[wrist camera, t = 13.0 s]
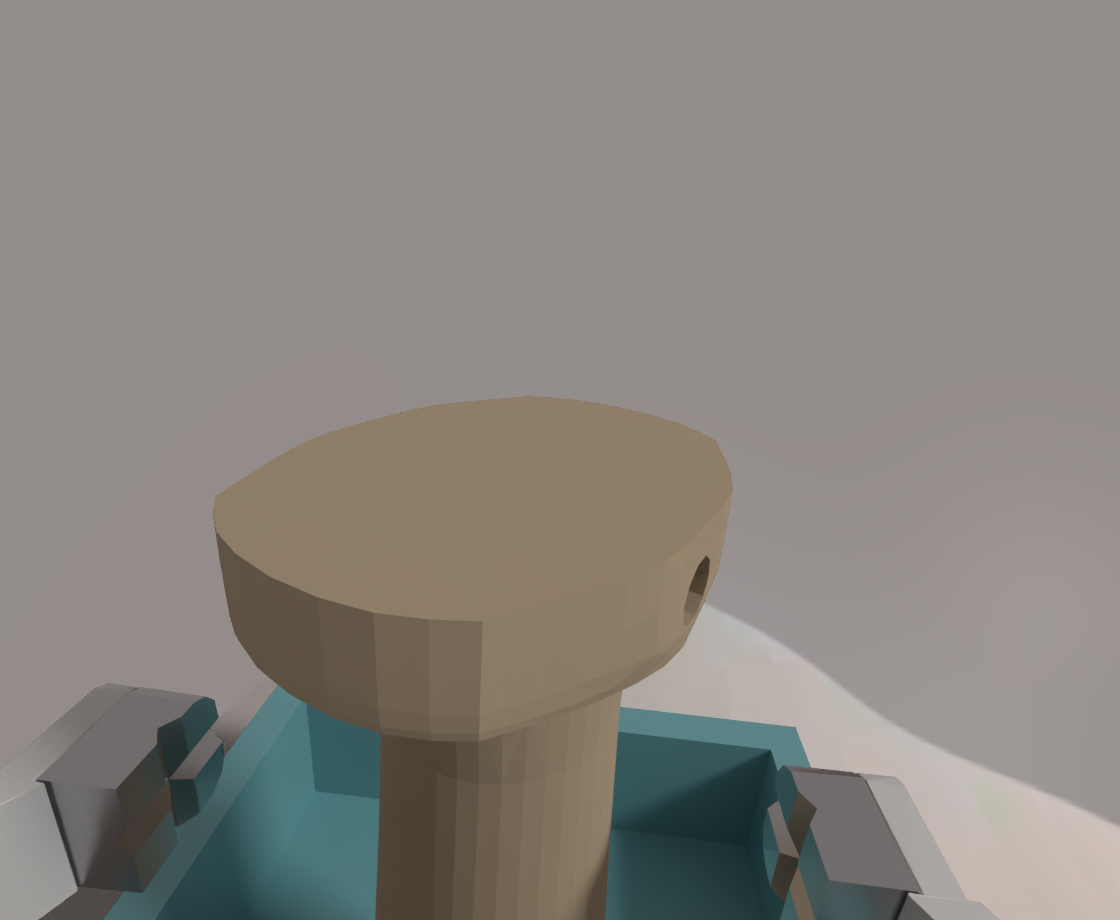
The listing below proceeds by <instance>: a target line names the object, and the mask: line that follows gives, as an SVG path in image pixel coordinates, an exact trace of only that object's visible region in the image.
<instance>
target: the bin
mask: <svg viewBox="0 0 1120 920" xmlns="http://www.w3.org/2000/svg"><path fill="white" fill-rule="evenodd" d="M380 749H381V734H380V733H377V732H374V731H371V730H368V729H365V728H362V727H359V726H356V725H353V724H350V723H347V722H344V721H341V720H338V719H335V718H332V717H331V716H329V715H327V714H325V713H323V712H321V711H319V710H318V709H316V708H314V707H312V706H310V705H308V704H306V703H305V702H303V701H301V700H299V699H297V698H295V697H293V696H292V695H290V694H288V693H287V692H286V691H285V690H284V689H282V688H281V687H280V686H279V685H277V687H276V688H275V689H274V691H273V692H272V693H271V695H270V696H269V697H268V699H267V700H266V701H265V703H264V704H263V705H262V707H261V708H260V709H259V711H258V712H257V714H256V715H255V716H254V718H253V719H252V720H251V722H250V723H249V724H248V726H247V727H246V728H245V730H244V731H243V732H242V734H241V735H240V736H239V738H238V739H237V740H236V742H235V743H234V744H233V746H232V747H231V748H230V750H229V751H228V752H227V754H226V755H225V756H224V762H223V770H222V774H221V776H220V778H219V781H218V783H217V786H216V788H215V791H214V793H213V795H212V796H211V798H210V799H209V801H208V802H207V804H206V805H205V807H204V808H203V810H202V811H201V812H200V813H199V814H198V815H196V816H194V817H193V818H191V819H190V820H188V821H187V822H185V823H183V824H182V825H180V826H179V837H178V845H177V846H176V848H175V849H174V850H173V852H172V853H171V855H170V856H169V857H168V859H167V860H166V861H165V863H164V864H163V866H162V867H161V868H160V870H159V871H158V873H157V874H156V875H155V877H154V878H153V880H152V881H151V882H150V884H149V885H148V886H147V888H146V889H145V891H144V892H143V893H138V892H128V891H124V892H123V893H122V895H121V896H120V897H119V899H118V900H117V901H116V903H115V904H114V905H113V907H112V908H111V909H110V911H109V912H108V913H107V915H106V916H105V917H104V919H103V920H375V910H376V886H377V862H378V838H379V797H380ZM783 765H790V766H799V767H808V768H811V767H810V764H809V762H808V759H807V756H806V754H805V751H804V748H803V746H802V743H801V741H800V738H799V735H798V733H797V730H796V727H788V726H780V725H771V724H763V723H754V722H745V721H737V720H728V719H719V718H711V717H702V716H694V715H685V714H676V713H668V712H659V711H651V710H642V709H633V708H625V707H620V711H619V724H618V737H617V750H616V764H615V777H614V790H613V803H612V817H611V831H610V848H609V864H608V881H607V897H606V914H605V920H780V918H781V914H782V911H783V908H784V904H785V903H784V902H783V901H782V899H781V898H780V897H779V896H778V895H777V894H776V892H775V891H774V890H773V889H772V888H771V886H770V883H769V879H768V875H767V871H766V866H765V859H764V852H763V826H764V822H765V818H766V813H767V809H768V808H769V807H770V806H772V805H773V804H774V803H776V802H777V801H778V796H777V793H776V790H775V786H774V783H775V780H776V777H777V773H778V771H779V769H780V768H781V767H782V766H783Z"/></svg>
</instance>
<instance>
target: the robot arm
mask: <svg viewBox="0 0 1120 920" xmlns="http://www.w3.org/2000/svg"><path fill="white" fill-rule="evenodd" d="M217 719H218V714H217V709H216V705H215V701H214V700H213V699H210V698H208V697H204V696H197V695H190V694H183V693H176V692H169V691H163V690H156V689H149V688H143V687H141V688H139V687H131V686H125V685H118V684H111V683H108V684H106V685H103V686H100V687H97V688H95V689H94V690H92V691H91V692H90V693H89V694H88V695H87V696H85V697H84V699H82V700H81V701H80V702H78V703H77V704H76V705H75V706H74V707H73V708H72V709H70V710H69V711H68V712H67V713H66V714H65V715H63V716H62V717H61V718H60V719H59V720H58V721H57V722H55V723H54V724H53V725H52V726H51V727H50V728H48V729H47V730H46V731H45V732H44V733H43V734H42V735H40V736H39V737H38V738H37V739H36V740H35V741H33V742H32V743H31V744H30V745H29V746H28V747H26V748H25V749H24V750H23V751H22V752H21V753H20V754H18V755H17V756H16V757H15V758H14V759H13V760H12V761H10V762H9V763H8V764H7V765H6V766H5V767H3V768H2V769H1V770H0V920H38V919H40V918H41V917H43V916H44V915H45V914H47V913H48V912H49V911H51V910H52V909H53V908H55V907H56V906H58V905H59V904H60V903H62V902H63V901H64V900H66V899H67V898H69V897H70V896H71V895H73V894H74V893H75V892H77V890H78V888H77V886H79V887H89V888H99V889H108V890H118V891H128V892H138V893H143V892H144V891H145V889H146V888H147V886H148V885H149V884H150V882H151V881H152V880H153V878H154V877H155V875H156V874H157V873H158V871H159V870H160V868H161V867H162V866H163V864H164V863H165V861H166V860H167V859H168V857H169V856H170V855H171V853H172V852H173V850H174V849H175V848H176V846H177V845H178V837H179V826H180V825H182V824H183V823H185V822H187V821H188V820H190V819H191V818H193V817H194V816H196V815H198V814H199V813H200V812H201V811H202V810H203V808H204V807H205V805H206V804H207V802H208V801H209V799H210V798H211V796H212V795H213V793H214V791H215V788H216V786H217V783H218V781H219V778H220V776H221V774H222V770H223V762H224V749H223V743H222V741H221V740H220V739H219V737H218V736H217V735H216V734H215V733H214V732H213V731H212V730H211V729H210V728H211V727H212V725H213V724H214V723H215V721H216V720H217ZM774 786H775V790H776V793H777V796H778V801H777V802H776V803H774V804H773V805H772V806H770V807H769V808H768V809H767V813H766V818H765V822H764V826H763V852H764V859H765V866H766V871H767V875H768V879H769V883H770V886H771V888H772V889H773V890H774V891H775V892H776V894H777V895H778V896H779V897H780V898H781V899H782V901H783V902H784V903H785V904H784V908H783V911H782V914H781V918H780V920H1000V919H999V918H998V917H996V916H995V915H994V914H993V913H992V912H991V911H990V910H989V909H987V908H986V907H985V906H984V905H983V904H982V903H981V902H975V901H969V900H967V898H966V896H965V895H964V893H963V891H962V889H961V887H960V886H959V884H958V882H957V880H956V878H955V876H954V875H953V873H952V871H951V869H950V867H949V866H948V864H947V862H946V860H945V858H944V857H943V855H942V853H941V851H940V849H939V848H938V846H937V844H936V842H935V840H934V839H933V837H932V835H931V833H930V831H929V829H928V828H927V826H926V824H925V822H924V820H923V819H922V817H921V815H920V813H919V811H918V810H917V808H916V806H915V804H914V802H913V801H912V799H911V797H910V795H909V793H908V791H907V790H906V788H905V786H904V784H903V783H902V782H901V781H899V780H898V779H897V778H896V777H890V776H881V775H872V774H863V773H857V774H855V773H853V772H846V771H836V770H827V769H818V768H808V767H799V766H790V765H783V766H782V767H781V768H780V769H779V771H778V773H777V777H776V780H775V783H774Z"/></svg>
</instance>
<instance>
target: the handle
mask: <svg viewBox="0 0 1120 920" xmlns="http://www.w3.org/2000/svg"><path fill="white" fill-rule="evenodd" d="M731 496H732V479H731V473H730V471H729V468H728V466H727V464H726V461H725V459H724V456H723V454H722V452H721V450H720V449H719V446H718V444H717V443H716V440H714V439H712V438H710V437H708V436H706V435H704V434H703V433H701V432H698V431H696V430H694V429H691V428H689V427H687V426H684V425H681V424H679V423H676V422H673V421H669V420H666V419H663V418H659V417H657V416H653V415H649V414H645V413H641V412H637V411H632V410H629V409H624V408H618V407H614V406H609V405H604V404H598V403H592V402H585V401H579V400H571V399H561V398H550V397H533V396H526V397H514V398H502V399H490V400H479V401H469V402H459V403H450V404H443V405H435V406H428V407H423V408H419V409H414V410H410V411H405V412H400V413H397V414H393V415H390V416H386V417H382V418H378V419H375V420H372V421H367V422H364V423H360V424H357V425H353V426H349V427H346V428H342V429H339V430H336V431H333V432H330V433H327V434H324V435H321V436H318V437H315V438H313V439H311V440H309V441H307V442H305V443H303V444H300V445H298V446H296V447H294V448H292V449H290V450H288V451H287V452H285V453H283V454H282V455H280V456H278V457H277V458H275V459H274V460H272V461H270V462H268V463H267V464H265V465H263V466H262V467H261V468H259V469H257V470H256V471H254V472H252V473H251V474H249V475H248V476H246V477H245V478H243V479H242V480H240V481H238V482H237V483H235V484H234V485H232V486H231V487H229V488H227V489H226V490H224V491H223V492H221V493H219V494H218V495H216V497H215V503H214V508H213V517H214V524H215V531H216V538H217V544H218V551H219V558H220V564H221V569H222V575H223V581H224V586H225V593H226V598H227V603H228V608H229V614H230V618H231V622H232V625H233V629H234V632H235V635H236V636H237V638H238V640H239V642H240V643H241V645H242V646H243V648H244V649H245V650H246V652H247V653H248V655H249V656H250V657H251V659H252V660H253V662H254V663H255V665H256V666H257V667H258V668H259V669H260V670H261V671H262V672H263V673H265V674H266V675H267V676H268V677H269V678H271V679H272V680H273V681H274V682H275V683H276V684H278V685H279V686H280V687H281V688H282V689H284V690H285V691H286V692H287V693H288V694H290V695H292V696H293V697H295V698H297V699H299V700H301V701H303V702H305V703H306V704H308V705H310V706H312V707H314V708H316V709H318V710H319V711H321V712H323V713H325V714H327V715H329V716H331V717H332V718H335V719H338V720H341V721H344V722H347V723H350V724H353V725H356V726H359V727H362V728H365V729H368V730H371V731H374V732H377V733H380V734H381V749H380V797H379V838H378V862H377V886H376V910H375V920H605V914H606V897H607V881H608V864H609V848H610V831H611V817H612V803H613V790H614V777H615V764H616V750H617V737H618V724H619V711H620V702H621V696H622V690H623V689H626V688H628V687H630V686H632V685H634V684H636V683H638V682H639V681H641V680H643V679H644V678H646V677H648V676H649V675H651V674H652V673H654V672H656V671H657V670H659V669H661V668H662V667H664V666H665V665H666V664H667V663H668V662H669V661H670V660H671V659H672V658H673V657H674V656H675V655H676V654H677V653H678V652H679V651H680V650H681V648H682V647H683V646H684V644H685V642H686V640H687V638H688V635H689V633H690V631H691V629H692V627H693V625H694V623H695V621H696V619H697V617H698V614H699V612H700V610H701V608H702V606H703V604H704V602H705V599H706V597H707V595H708V592H709V590H710V588H711V586H712V583H713V581H714V579H715V576H716V574H717V571H718V568H719V563H720V558H721V553H722V548H723V543H724V538H725V533H726V527H727V521H728V515H729V508H730V502H731Z"/></svg>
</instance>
